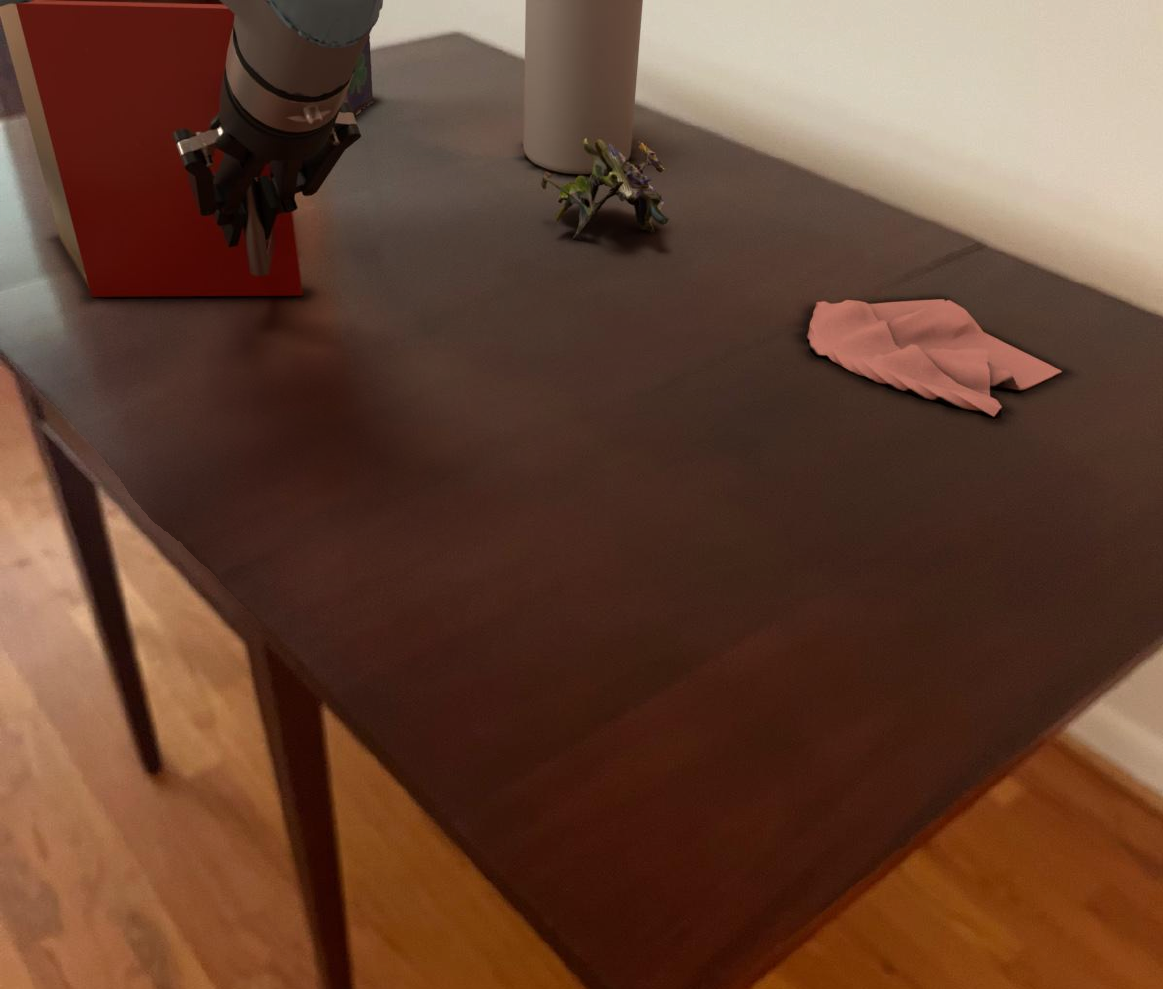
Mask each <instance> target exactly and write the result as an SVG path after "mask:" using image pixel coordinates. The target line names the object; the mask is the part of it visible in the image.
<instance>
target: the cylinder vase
mask: <svg viewBox="0 0 1163 989" xmlns="http://www.w3.org/2000/svg"><path fill="white" fill-rule="evenodd" d="M643 2H644V0H525V19H524V20H525V24H524V25H525V26H524V76H523V77H524V85H523V86H524V88H523V137H522V138H523V141H522V142H523V144H522V146H523V152H524V154H525V156H526V157H527V158H528V160H529V161H531V162H532V163H534V164H535V165H537V166H539V167H541V168H542V169H543V168H544V169H546V170H549V171H552V172H556V173H561V174H568V175H592V173H593V166H594V162H593V159H592V157H591V156H590V155H589V154H588V153H587V152H586V151H585V149H584V144H583V141H584V139H586V138H587V142H588V144H589V145H591V146H592V147H593V148H595V149H596V147H595V142H596V141H597V139H598V140H602V141H603V142H604V143H605V145H606V146H607V147H608V148H609V143H608V142H610V143H611V145H612V146H615V148H616V149H617V151H618V152H620V153H621V154H622V155H623V156H624V157H625V158H626V159H627V160H628V161H629V159H630V157H631V153H632V144H633V143H632V141H633V129H634V116H635V104H636V93H637V79H638V78H637V77H638V66H639V55H640V41H641V30H642V29H641V28H642V16H643Z"/></svg>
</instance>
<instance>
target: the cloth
mask: <svg viewBox="0 0 1163 989" xmlns="http://www.w3.org/2000/svg"><path fill="white" fill-rule="evenodd" d="M806 339H807V340H809V347H810V348H811V350H812V351H813V352H814V353H815V354H816V356H823V357H825V356H826V357H827V358H829V360H830V361H832V362H833V363H835V364H837V365H838V366H841V367H842V368H844V369H846V370H847V371H849V372H851V373H853V374H855V375H858V376H862V377H864V378H865V377H866V378H868V379H869V380H871V381H873V382H874V383H877V384H882V385H887V386H892V388H894V389H896V390H899V391H902V392H904V393H905V392H906V393H911V394H917V395H919V396H921V397H923V398H924V399H927V400H930V401H934V402H943V403H947V404H951V405H954V406H957V407H959V408H961V409H963V410H969V411H978V412H984V413H986V414H988V415H990V416H992V417H993V418H994V417H995V416H996V415H997V414H998V413H999V411H1000V410H1001V409H1002V408H1003V406H1002V405H1001V403H1000V402H999V400H998V399H996V398H995V397H992V396H991V387H998V388H1005V389H1010V390H1016V391H1025V390H1027V389H1030V388H1032V387H1034V386H1036V385H1039V384H1042V383H1043V382H1045V381H1048V380H1050V379H1052V378H1054V377H1055V376H1057V375H1060V374H1061V373H1062V372H1063V371H1062V370H1061V369H1059V368H1056V367H1055V366H1053V365H1051V364H1049V363H1047V362H1045V361H1043V360H1041V359H1039V358H1037V357H1035V356H1033V355H1031V354H1029V353H1027V352H1025V351H1023V350H1021V349H1018V348H1017V347H1014V346H1013V345H1010V344H1008V343H1006V342H1004V341H1002V340H1001V339H999V338H996V337H995V336H993V335H991V334H988V333H987V332H984V331H983V329H982V328H981V327H980V326H979V323H978V322H976V320H975V318H974V317H973V316H972V315H971V314H970V313H969V312H968V311H967V310H966V309H965V308H964V307H962V306H960V305H959V304H957V303H955V302H954V301H952V300H951V299H947V300H945V299H944V298H941V299H940V298H939V299H937V298H936V299H919V300H903V301H888V302H878V303H877V302H876V303H868V302H867V301H861V300H852V299H845V300H843V301H841V302H836V303H830V302H828V301H826V300H822V301H816V302H815V307H814V309H813V311H812V317H811V319H810V322H809V328H808V333H807V334H806Z"/></svg>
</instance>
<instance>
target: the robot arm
mask: <svg viewBox="0 0 1163 989" xmlns="http://www.w3.org/2000/svg"><path fill="white" fill-rule="evenodd" d="M31 1H34V0H0V7H1V6H4V5H7V4H20V3H27V2H31ZM220 1H221V2H222V3H223V4H224V5H225V6H226V7H227V8H229V9H230V10H231V11H232V12H233V13H234V14H235V18H234V22H233V29H232V33H231V38H230V42H229V46H228V51H227V58H226V65H225V69H224V74H223V80H222V85H221V90H220V103H219V113H218V114H217V115H216V116H215V117H214V118H213V119H212V120H211V122H210V130H209V131H206V132H204V133H201V132H196V133H195V134H194V133H192V132H191V131H190V130H189V129H184V128H183V129H179V130H176V131H175V132H174V133H173V137H174V140H175V143H176V146H177V148H178V151H179V154H180V157H181V159H182V162H183V165H184V167H185V169H186V170H187V171H188V177H189V183H190V186H191V189H192V192H193V194H194V197H195V200H196V203H197V205H198V208H199V211H200V213H201V215H202V216H209V215H212V214H213V215H214V218H215V221H216V223H217V225H218V226H221V228H222V230H223V233H224V236H225V239H226V241H227V244H228V247H234V246H238V242H239V239H240V236H241V232H242V229H243V225H244V222H245V218H246V215H247V213H246V210H245V207H244V204H243V202H242V201H243V199H244V197H245V195H246V193H247V191H248V189H249V187H250V185H251V183H252V180H253V178H256V177H259V178H258V181H257V185H258V192H259V199H260V206H261V213H262V220H263V227H264V234H265V240H268V239H269V237H270V234H271V232H272V229H273V226H274V223H275V220H276V217H277V214H281V213H283V212H284V213H289V212H293V213H294V212H295V211H296V210H297V209H298V204H297V202H296V199H295V197H296V195H297V194H300V193H301V194H302V195H303V196H304V197H311V196H313V195H315V194H316V193H318V191H319V190H320V188H321V187H322V185H323V183H324V182H325V181H326V179H327V178H328V176H329V175H330V173H331V172H332V171H333V169H334V167H335V166H336V164H337V163H338V161H339V160H340V158H341V157H342V155H343V154H344V153H345V151H346V150H347V149H349V147H351V146H352V145H353V144H354V143H355V142H357V141H358V140H359V139H360V138H361V137H362V134H361V131H360V128H359V126H358V123H357V120H356V118H355V116H354V114H353V112H352V109H351V106H350V104H349V103H347V102H343V100H344V98H345V95H346V92H347V90H348V87H349V85H350V82H351V80H352V77H353V74H354V71H355V69H356V65H357V63H358V60H359V58H360V56H361V53H362V51H363V49H364V46H365V44H366V42H367V39H368V37H369V35H370V34H371V32H372V30H373V28H374V27H375V26H376V24H377V23H378V20H379V18H380V13H381V12H380V11H381V10H382V9H383V7H384V6H383V4H384V0H220ZM370 36H371V35H370ZM216 149H219V150H221V151H222V152H224V153H225V154H224V156H223V158H222V161H221V163H220V166H219V168H218V170H217V173H213V174H212V172H211V170H210V168H211V167H213V166H214V164H213V161H212V159H211V158H212V157H213V156H214V155H215V154H214V151H215V150H216ZM269 163H270V169H269V174H270V177H271V181H270V179H269V176H268V175H264V176H260V175H261V173H262V171H263V169H264V167H265V165H266V164H269Z"/></svg>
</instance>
